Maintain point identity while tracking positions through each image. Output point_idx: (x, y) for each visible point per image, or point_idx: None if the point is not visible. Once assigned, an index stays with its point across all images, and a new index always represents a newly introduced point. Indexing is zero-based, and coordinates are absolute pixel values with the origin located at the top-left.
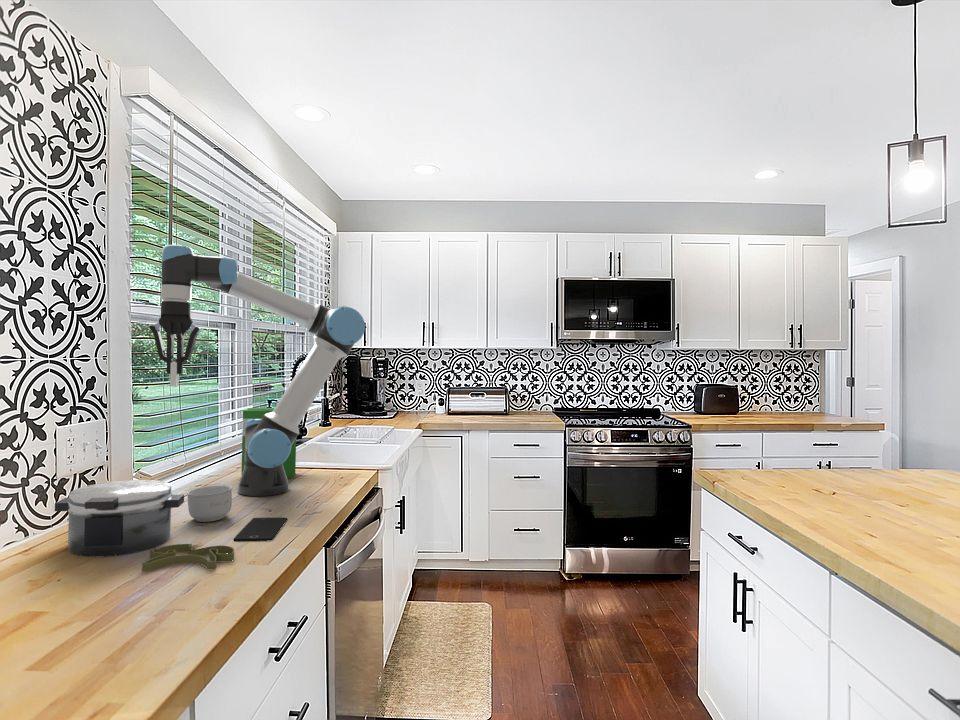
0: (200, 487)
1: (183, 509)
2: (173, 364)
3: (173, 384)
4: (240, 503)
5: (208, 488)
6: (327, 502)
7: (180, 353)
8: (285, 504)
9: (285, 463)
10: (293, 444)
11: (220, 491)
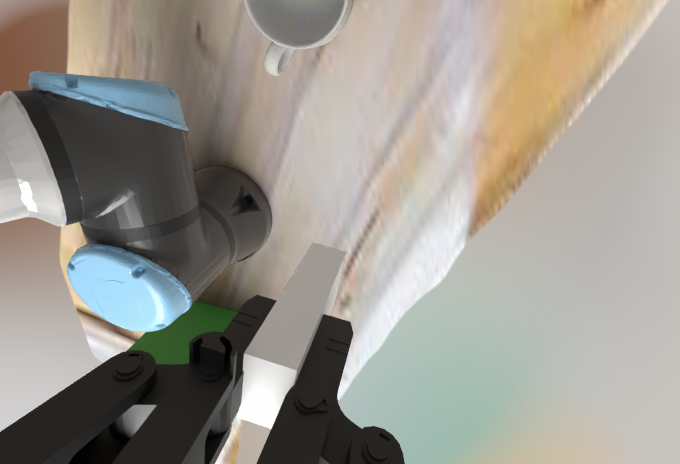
0: (319, 42)
1: (369, 111)
2: (278, 346)
3: (325, 251)
4: (261, 122)
5: (302, 45)
6: (98, 67)
7: (147, 436)
8: (175, 80)
9: (181, 318)
10: (141, 341)
11: (277, 36)
